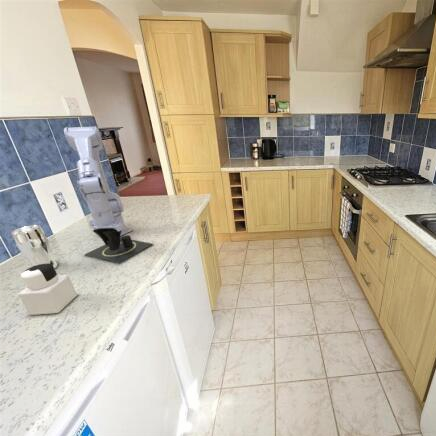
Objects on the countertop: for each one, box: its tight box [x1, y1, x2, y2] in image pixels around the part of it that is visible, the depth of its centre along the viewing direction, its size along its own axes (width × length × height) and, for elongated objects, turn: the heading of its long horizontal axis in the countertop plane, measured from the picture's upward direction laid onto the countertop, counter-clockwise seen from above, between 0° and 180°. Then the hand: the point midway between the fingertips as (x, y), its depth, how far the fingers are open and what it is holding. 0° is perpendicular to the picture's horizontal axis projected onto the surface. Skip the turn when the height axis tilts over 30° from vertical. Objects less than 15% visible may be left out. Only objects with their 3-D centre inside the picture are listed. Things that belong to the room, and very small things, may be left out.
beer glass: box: [10, 224, 58, 269], centre depth 80 cm, size 7×7×15 cm
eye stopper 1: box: [106, 239, 120, 251], centre depth 89 cm, size 3×3×4 cm
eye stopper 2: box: [120, 234, 133, 248], centre depth 94 cm, size 3×3×4 cm
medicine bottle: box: [17, 264, 78, 316], centre depth 64 cm, size 7×7×12 cm
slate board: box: [84, 237, 154, 265], centre depth 93 cm, size 18×14×1 cm
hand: (113, 245), depth 89 cm, fingers closed on eye stopper 1, 3 cm apart
